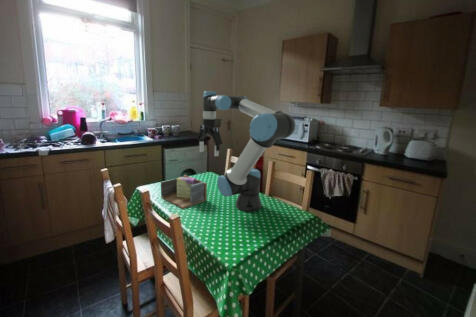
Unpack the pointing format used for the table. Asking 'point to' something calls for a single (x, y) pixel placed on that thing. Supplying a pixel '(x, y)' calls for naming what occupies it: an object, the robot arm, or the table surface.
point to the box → (184, 186)
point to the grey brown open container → (170, 194)
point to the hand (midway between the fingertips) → (208, 153)
